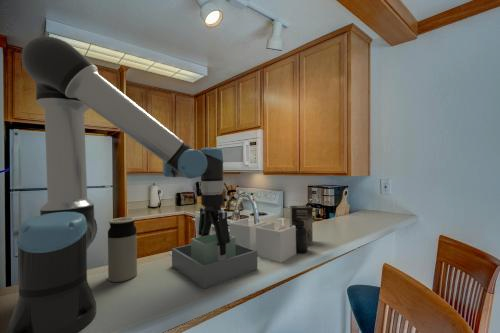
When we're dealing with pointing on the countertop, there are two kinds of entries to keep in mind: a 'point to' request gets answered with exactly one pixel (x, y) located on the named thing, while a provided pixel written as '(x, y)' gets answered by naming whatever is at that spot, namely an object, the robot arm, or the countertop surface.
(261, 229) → the white cubby shelf
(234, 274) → the big crate
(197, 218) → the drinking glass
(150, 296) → the countertop surface
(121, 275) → the travel mug
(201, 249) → the box
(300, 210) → the coffee box
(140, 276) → the countertop surface
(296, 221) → the supplement bottle
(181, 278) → the countertop surface
